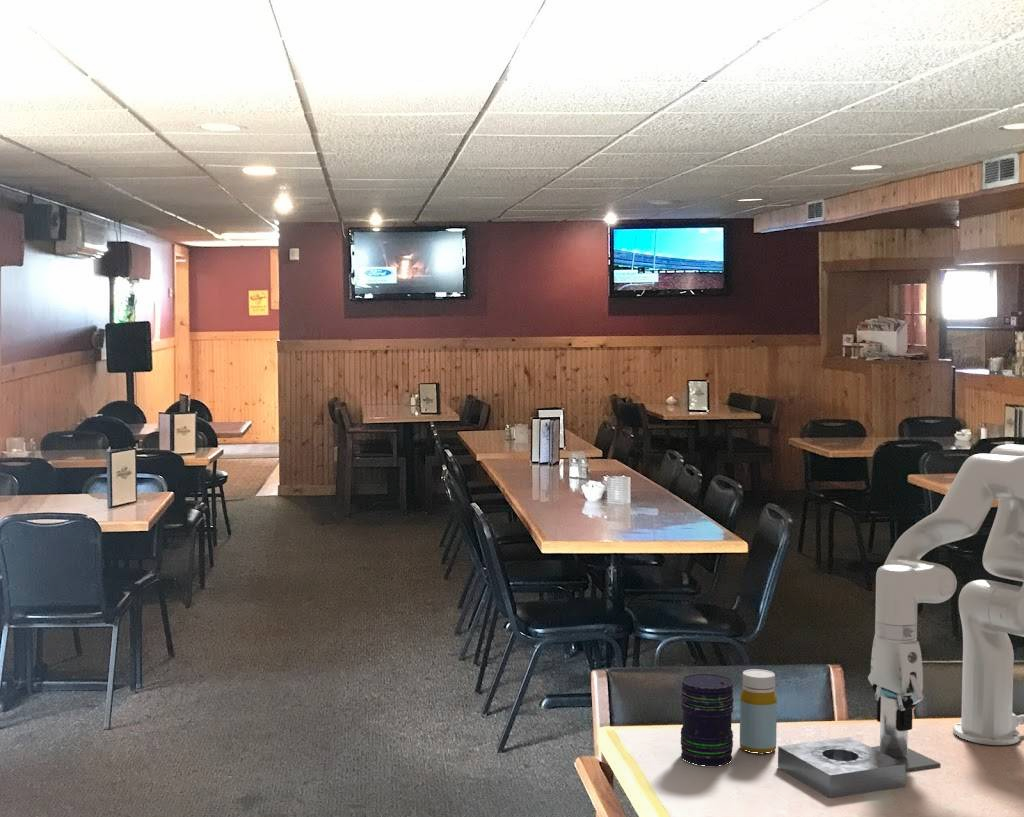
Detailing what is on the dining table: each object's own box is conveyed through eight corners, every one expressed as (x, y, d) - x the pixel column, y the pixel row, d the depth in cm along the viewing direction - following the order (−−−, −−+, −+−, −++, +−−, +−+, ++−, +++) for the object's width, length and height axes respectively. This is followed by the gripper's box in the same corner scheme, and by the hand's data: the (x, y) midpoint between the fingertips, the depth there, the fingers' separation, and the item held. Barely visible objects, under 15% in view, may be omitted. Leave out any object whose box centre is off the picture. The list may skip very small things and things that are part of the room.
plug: (895, 746, 226) (896, 685, 225) (913, 755, 221) (914, 692, 221) (874, 749, 224) (875, 688, 224) (891, 758, 220) (892, 695, 219)
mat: (898, 746, 231) (898, 743, 231) (940, 766, 219) (940, 763, 219) (847, 753, 226) (847, 750, 226) (887, 774, 215) (887, 771, 215)
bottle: (776, 756, 224) (777, 679, 224) (739, 753, 226) (740, 677, 225) (775, 744, 231) (776, 669, 231) (739, 742, 233) (740, 667, 232)
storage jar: (672, 761, 221) (673, 683, 221) (690, 746, 230) (691, 671, 229) (723, 770, 217) (724, 691, 216) (739, 754, 225) (740, 678, 225)
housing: (849, 757, 224) (849, 736, 224) (904, 786, 209) (905, 764, 209) (777, 767, 218) (778, 746, 218) (829, 797, 204) (830, 775, 203)
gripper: (943, 639, 215) (941, 737, 216) (883, 619, 231) (881, 710, 232) (909, 643, 212) (908, 741, 213) (851, 622, 228) (850, 714, 229)
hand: (894, 724), depth 223 cm, fingers closed on plug, 4 cm apart
